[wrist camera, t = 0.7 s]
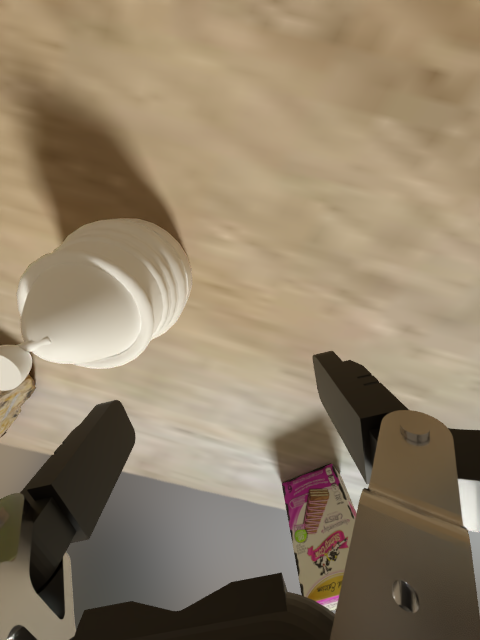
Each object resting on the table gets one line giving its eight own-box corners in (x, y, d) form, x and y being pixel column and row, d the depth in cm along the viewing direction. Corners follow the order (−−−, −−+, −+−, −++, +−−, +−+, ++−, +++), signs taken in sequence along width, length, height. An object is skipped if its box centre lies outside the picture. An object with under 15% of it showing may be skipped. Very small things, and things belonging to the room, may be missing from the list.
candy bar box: (331, 461, 45) (381, 583, 31) (341, 474, 47) (392, 596, 33) (279, 482, 48) (302, 607, 33) (290, 494, 49) (317, 617, 35)
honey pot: (122, 336, 32) (15, 465, 16) (58, 244, 27) (-195, 297, 11) (209, 302, 31) (188, 407, 15) (159, 198, 26) (41, 181, 9)
